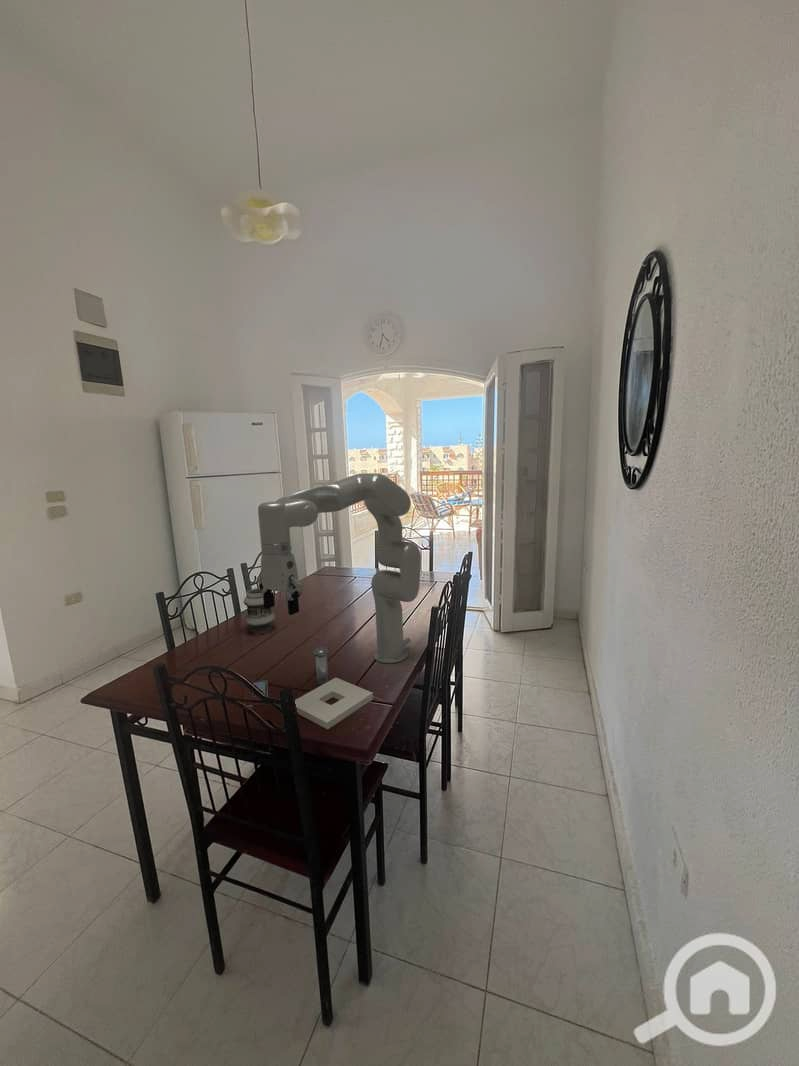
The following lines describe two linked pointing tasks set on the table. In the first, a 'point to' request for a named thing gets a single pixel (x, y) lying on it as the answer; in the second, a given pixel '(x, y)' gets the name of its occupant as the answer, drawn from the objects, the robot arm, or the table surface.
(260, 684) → the smartphone
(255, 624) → the apothecary jar
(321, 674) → the peg
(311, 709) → the socket plate
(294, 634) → the table surface
